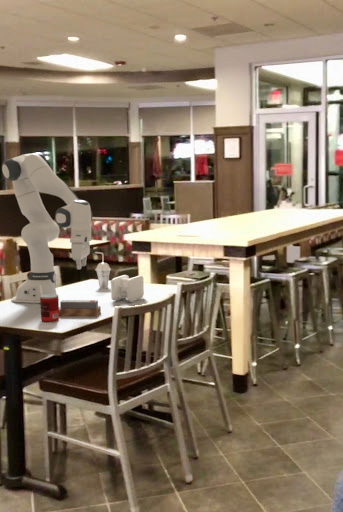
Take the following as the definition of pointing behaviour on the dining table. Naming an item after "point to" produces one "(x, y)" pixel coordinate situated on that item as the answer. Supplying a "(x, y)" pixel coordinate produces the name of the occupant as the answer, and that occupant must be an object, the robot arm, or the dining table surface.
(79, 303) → the gray bar with feet
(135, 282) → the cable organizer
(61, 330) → the dining table surface
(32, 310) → the dining table surface
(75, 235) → the robot arm
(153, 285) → the dining table surface
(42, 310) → the canned food
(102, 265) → the cup with straw
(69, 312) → the wooden tray
